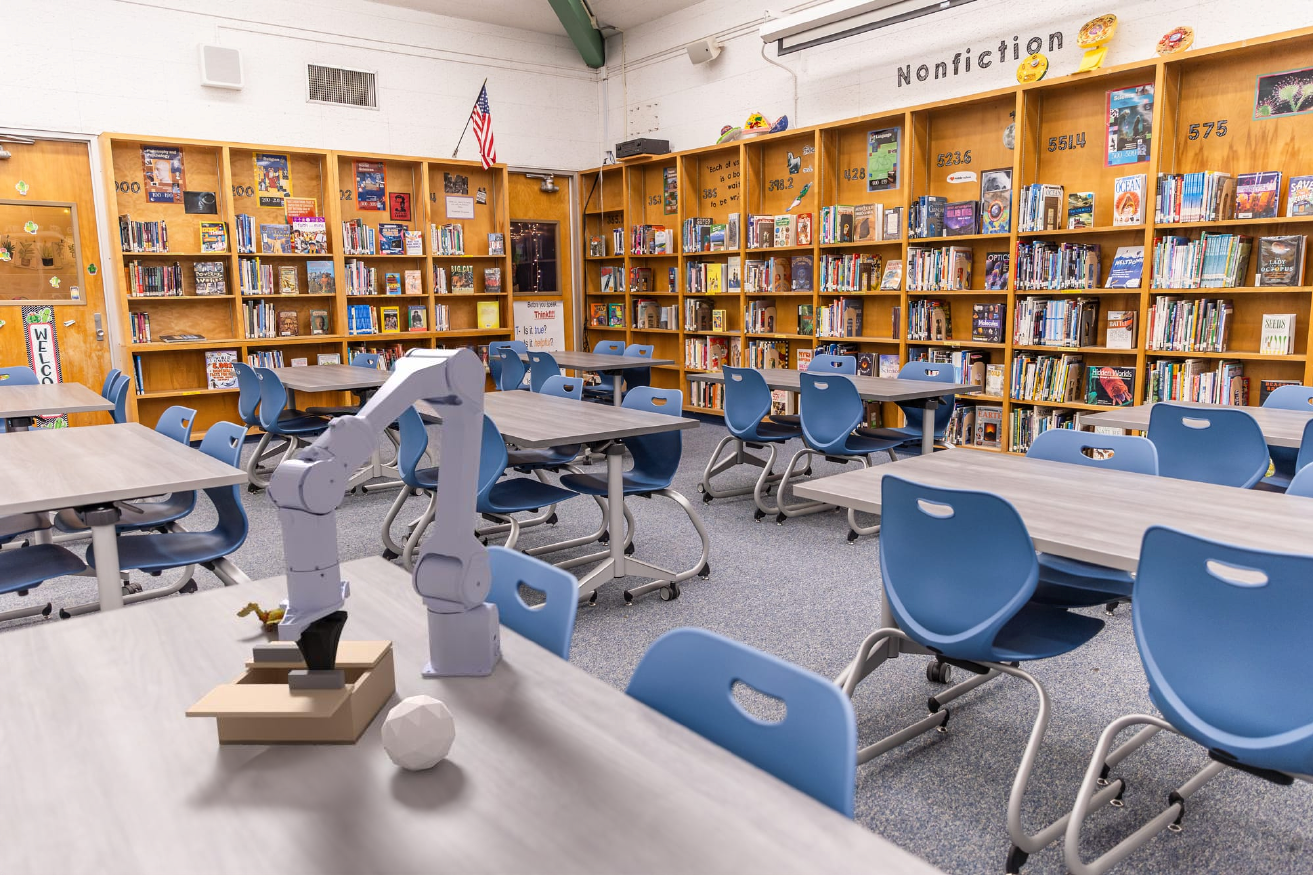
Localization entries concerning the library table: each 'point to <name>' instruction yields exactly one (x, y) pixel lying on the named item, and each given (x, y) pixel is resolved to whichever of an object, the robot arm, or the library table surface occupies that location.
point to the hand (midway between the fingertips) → (322, 676)
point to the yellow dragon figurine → (263, 614)
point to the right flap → (291, 656)
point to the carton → (336, 730)
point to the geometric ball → (418, 732)
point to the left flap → (278, 697)
